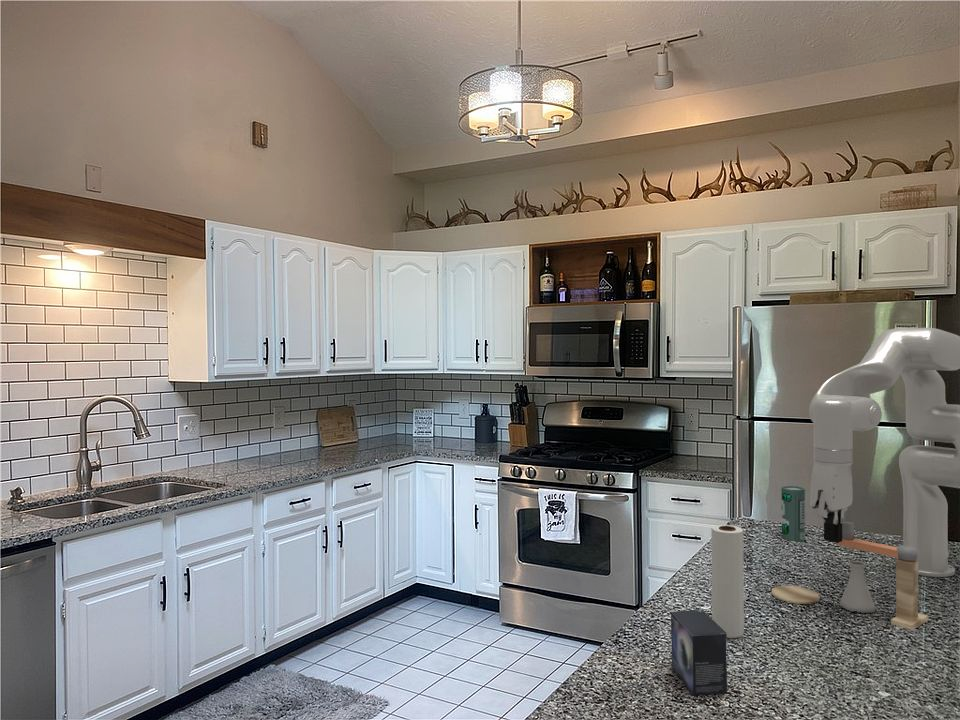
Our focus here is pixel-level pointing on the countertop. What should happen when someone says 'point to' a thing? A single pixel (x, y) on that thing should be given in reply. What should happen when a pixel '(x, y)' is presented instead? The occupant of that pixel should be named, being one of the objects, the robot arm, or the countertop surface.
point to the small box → (699, 652)
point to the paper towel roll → (728, 579)
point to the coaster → (795, 594)
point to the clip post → (907, 596)
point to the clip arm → (875, 545)
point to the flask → (857, 591)
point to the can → (793, 513)
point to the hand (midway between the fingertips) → (833, 540)
